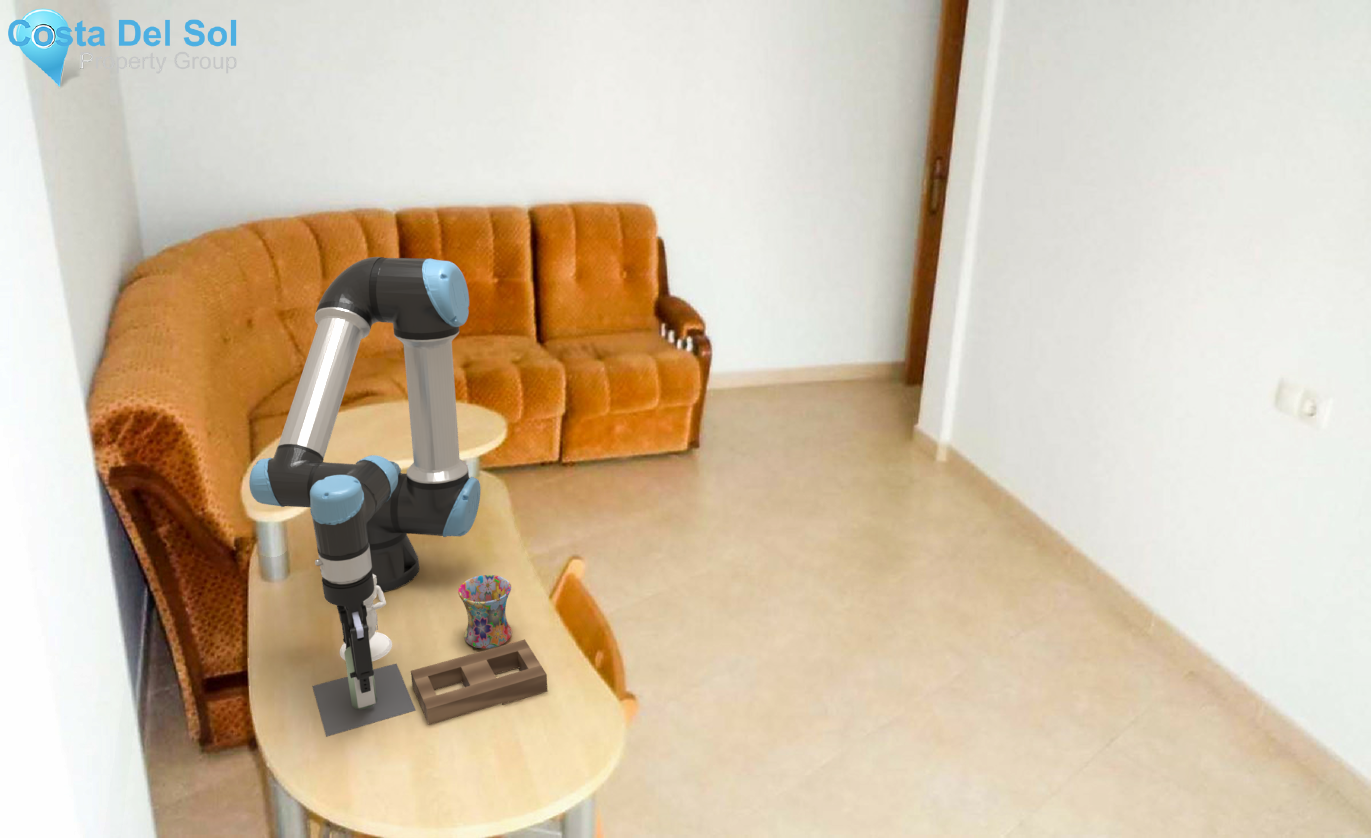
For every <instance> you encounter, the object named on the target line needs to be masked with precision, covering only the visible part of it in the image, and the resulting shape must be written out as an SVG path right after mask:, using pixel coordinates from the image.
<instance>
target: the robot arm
mask: <svg viewBox="0 0 1371 838" xmlns="http://www.w3.org/2000/svg"><path fill="white" fill-rule="evenodd" d="M469 307H470V295H469V289H468V285H467V281H466V279H465V276H464V274H463V272H462V271H461V270H460V268H459V267H458V266H457V265H456V264H455V263H453V262H452V261H449V260H441V259H440V260H439V259H433V258H417V257H416V258H411V257H410V258H409V257H404V258H403V257H383V256H373V257H367V258H364V259H361V260H359V261H356V262H354V263H353V264H351V265H350V266H348V267H347V268H346V269H344V270H343V271H342V272H341V273H340V274H339V275H337V276H336V278H335V279H333V281H332V282H331V283H330V284H329V286H328V287H327V288H326V290H324V293H323V295H322V296H321V299H320V300H319V302H318V304H317V308H316V310H315V315H314V321H315V323H316V324H317V328H316V330H315V333H314V337H313V340H312V342H311V345H310V349H309V350H308V351H309V352H308V355H307V357H306V361H305V364H304V366H303V370H302V373H301V376H300V379H299V382H298V385H297V387H296V391H295V394H294V396H293V400H292V403H291V405H290V407H289V412H288V414H287V417H286V421H285V424H284V427H283V430H282V433H281V436H280V438H279V442H278V446H277V448H276V451H275V453H274V457H267V458H261V459H259V460H258V461H256V463H255V465H253V467H252V468H251V470H250V474H249V481H248V483H249V491H250V494H251V496H252V498H253V499H254V500H255V501H256V502H258V503H260V504H264V505H269V506H276V507H281V508H285V507H291V508H292V507H296V508H309V509H310V510H309V511H310V515H311V518H312V523H313V529H314V536H315V541H316V547H317V554H318V559H317V558H316V559H315V560H314V564H315V566H318V567H320V575H321V584H322V591H323V596H324V599H325V601H326V602H327V603H329V604H331V605H334V606H336V609H337V612H338V615H339V620H340V623H341V629H342V636H343V639H342V641H343V643H344V642H345V644H346V649H347V648H348V647H350V648H351V654H352V660H353V666H354V672H352V673H350V677H351V678H354V683H355V690H356V697H357V704H358V708H361V707H365V706H368V705H372V704H375V703H376V702H375V694H374V687H373V679H372V676H374V670H373V669H374V666H373V667H372V664H373V661H372V659H371V651H370V643H369V633H368V630H369V627H368V625H367V620H366V617H367V610H366V606H365V605H364V604H363V601H365V600H366V599H368V598H369V597H370V596H371V595H372V593H373V591H374V581H373V574H374V575H376V578H377V584H376V585H378V586H380V588H381V590H382V591H383V593H384V592H388V591H392V590H395V589H398V588H401V587H404V586H405V585H407V584H409V583H410V582H412V581H413V580H415V578H416V577H417V576H418V574H419V572H420V561H419V556H418V554H417V552H416V549H415V548H414V546H413V544H412V542H411V540H410V538H409V536H408V534H411V535H412V534H413V535H422V536H423V535H424V536H437V537H438V536H439V537H443V538H446V537H463V536H466V535H467V534H468V533H469V531H470V530H471V528H472V527H473V525H474V523H475V520H476V518H477V513H478V511H479V506H480V500H481V483H480V480H479V479H478V478H477V477H474V476H471V477H470V475H469V474H470V473H469V465H468V464H467V463H466V462H465V461H463V460H462V459H461V457H460V448H459V447H460V446H459V445H460V444H459V431H458V429H459V427H458V415H457V401H456V387H455V374H454V371H455V370H454V369H455V368H454V356H453V343H452V342H453V340H454V339H455V338H456V337H457V336H458V335H459V333H460V327H461V326H463V325H465V323H466V322H467V320H468V317H469V312H470V311H469ZM376 323H390V324H392V327H393V336H394V337H395V338H396V339H397V340H398V341H400V342H401V343H402V344H403V353H404V365H405V375H406V376H405V377H406V387H407V398H408V399H407V400H408V411H409V425H410V436H411V446H412V457H413V459H412V460H413V463H412V464H410V466H409V467H407V469H406V473H403V472H402V469H401V467H400V465H399V464H398V463H397V462H395V461H392V460H388V459H387V458H385V457H383V456H381V455H375V454H374V455H373V454H372V455H368V456H365V457H363V458H361V459H359V460H357V462H355V463H340V462H326V461H324V458H325V455H326V452H327V450H328V447H329V443H330V440H331V437H332V433H333V430H334V428H335V424H336V422H337V417H338V415H339V411H340V409H341V406H342V405H341V404H342V402H343V398H344V395H345V392H346V389H347V386H348V382H349V379H350V376H351V373H352V370H353V367H354V363H355V360H356V357H357V354H358V350H359V347H360V344H361V341H362V339H365V338H366V337H368V336H369V335H370V332H371V330H372V329H371V328H372V327H373V325H374V324H376ZM401 472H402V473H401ZM362 624H363V625H362Z"/></svg>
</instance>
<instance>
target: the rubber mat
mask: <svg viewBox="0 0 1371 838" xmlns="http://www.w3.org/2000/svg"><path fill="white" fill-rule="evenodd" d="M373 670H374V680H375V687H376V695H377V702H376V703H375V704H374V705H373V706H372V707H370V708H367V709H356V708H354V707H353V706H352V703H351V696H350V689H349V682H348V676H345V677H339V678H338V679H334V680H330V681H326V682H322V683H319V684H315V685H312V689H313V693H314V698H315V700H316V705H317V708H318V712H319V715H320V718H321V722H322V726H323V731H324V733H325V734H324V735H325V736H326V737H330V736H333V735H336V734H341V733H344V732H347V731H351V730H354V729H358V728H360V727H364V726H365V727H366V726H367V725H368V726H369V725H371V724H375V723H377V722H381V721H385V720H389V719H391V718H394V717H398V716H399V717H400V716H402V715H406V714H409V713H412V712H415V711H417V709H416V707H415V705H414V703H413V700H412V698H411V695H410V693H409V690H408V688H407V684H406V683H405V681H404V678H403V676H402V673H401V671H400V669H399V667H398V664H397V662H396V663H393V664H388V665H386V666H380V667H377V668H373Z"/></svg>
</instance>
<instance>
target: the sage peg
mask: <svg viewBox="0 0 1371 838" xmlns="http://www.w3.org/2000/svg"><path fill="white" fill-rule="evenodd" d="M370 651H371V649H370ZM344 654H345V660H344V661H345V667H346V674H347V677H348V682H349V689H350V696H351V703H352V706H353V707H354V708H356V709H367V708H370V707H372V706H373V705H374V704H372V705H368V706H365V707H361V708H358V704H357V697H356V690H355V683H354V678H351V677H350V673H352V672H354V666H353V660H352V654H351V648H350V647H348V648H347V649H346V650H345V652H344ZM371 659H372V657H371ZM373 664H374V663H372V667H373V668H374V666H373ZM372 679H373V687H374V694H375V702H377V695H376V687H375V680H374V676H372Z"/></svg>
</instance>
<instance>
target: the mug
mask: <svg viewBox="0 0 1371 838" xmlns="http://www.w3.org/2000/svg"><path fill="white" fill-rule="evenodd" d="M511 591H512V584H511V582H510V581H509V580H508V579H506V578H505V577H502V576H501V575H496V574H494V575H493V574H481V575H476V576H474V577H471V578H468V579H467V580H465V581H464V582H463V583H461V585H459V587H458V590H457V593H458V597H459V598H460V600H461V601H462V603H463V605H464V607H465V610H466V614H467V625H466V629H465V632H464V637H463V638H464V640H465V642H466V644H468V645H469V646H471V647H473V648H476V649H477V648H478V649H485V650H488V649H492V648H495V647H499V646H503V645H505V643H506V642H508V641H509V640H510V638H511V636H512V633H513V631H512V627H511V625H509V623H508V620H507V616H506V607H507V601H508V598H509V595H510V593H511Z"/></svg>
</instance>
